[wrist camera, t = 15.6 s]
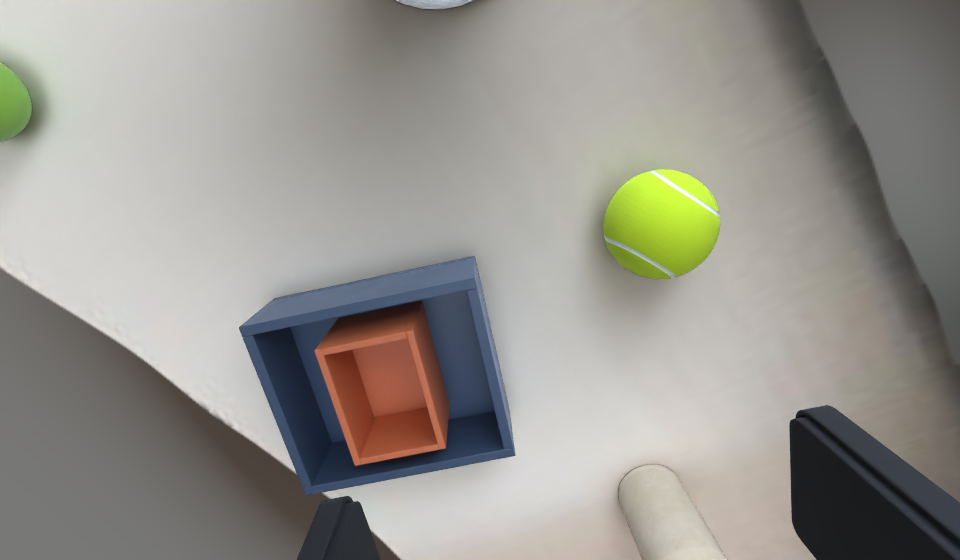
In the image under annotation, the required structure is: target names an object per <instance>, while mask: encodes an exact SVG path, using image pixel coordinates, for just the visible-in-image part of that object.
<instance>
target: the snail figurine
mask: <svg viewBox="0 0 960 560" xmlns="http://www.w3.org/2000/svg"><path fill="white" fill-rule="evenodd" d="M31 113H32V103H31V98H30V95H29V93H28V91H27V89H26V87H25V85H24V84H23V82H22V81H21V80H20V79H19V78H18V76H17V75H16V74H15V73H14V72H12V71H11V70H10V69H9V68H8V67H6V66H5V65H4V64H2V63H1V62H0V142H1V141H5V140H8V139H10V138H12V137H14V136H16V135H17V134H19V133H20V132H21V131H22V130H23V129H24V128H25V127H26V126H27V124H28V122H29V120H30V117H31Z"/></svg>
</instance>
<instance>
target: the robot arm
mask: <svg viewBox="0 0 960 560" xmlns="http://www.w3.org/2000/svg"><path fill="white" fill-rule="evenodd" d="M396 1H398V2H400V3H403V4H406V5H410V6H414V7H418V8H422V9H446V8H451V7H457V6H461V5H464V4H466V3H468V2H471V1H473V0H396ZM790 464H791V507H792V523H793V526H794V529H795V531H796V533H797V535H798V537H799V538H800V539H801V541H802V542H803V543H804V544H805V546H806V547H807V548H808V549H809V551H810V552H811V553H812V554H813V556H814V557H815V558H816V559H817V560H960V502H958V501H957V500H956V499H954V498H953V497H952V496H950V495H949V494H948V493H946V492H945V491H944V490H942V489H941V488H940V487H938V486H937V485H936V484H934V483H933V482H932V481H930V480H929V479H928V478H926V477H925V476H924V475H922V474H921V473H920V472H919V471H917V470H916V469H915V468H913V467H912V466H911V465H909V464H908V463H907V462H905V461H904V460H903V459H901V458H900V457H899V456H897V455H896V454H895V453H893V452H892V451H891V450H889V449H888V448H887V447H885V446H884V445H883V444H881V443H880V442H879V441H877V440H876V439H875V438H873V437H872V436H871V435H869V434H868V433H867V432H866V431H864V430H863V429H862V428H860V427H859V426H858V425H856V424H855V423H854V422H852V421H851V420H850V419H848V418H847V417H846V416H844V415H843V414H842V413H840V412H839V411H838V410H836V409H835V408H833V407H831V406H827V405H826V406H821V407H815V408H810V409H805V410H800V411H798V412H797V414H796V419H793V420H791V421H790ZM297 560H381V559H380V556H379V553H378V551H377V548H376V545H375V542H374V540H373V537H372V534H371V531H370V528H369V526H368V523H367V520H366V517H365V514H364V512H363V509H362V506H361V504H360V503H359V502H358V501H356V502H353V500H352V498H351V497H350V496H345V497H339V498H334V499H329V500H324V501H322V502H321V504H320V505H319V508H318V510H317V512H316V515H315V517H314V520H313V522H312V524H311V527H310V529H309V532H308V534H307V536H306V539H305V542H304V544H303V546H302V548H301V551H300V553H299V556H298V558H297Z"/></svg>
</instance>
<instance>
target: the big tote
mask: <svg viewBox="0 0 960 560" xmlns="http://www.w3.org/2000/svg"><path fill="white" fill-rule="evenodd" d="M420 301H422V302H423V306H424V310H425V314H426V317H427V321H428V325H429V329H430V332H431V336H432V340H433V344H434V347H435V351H436V355H437V358H438V362H439V366H440V370H441V373H442V377H443V381H444V385H445V388H446V392H447V396H448V400H449V403H450V408H449V420H448V431H447V442H446V448H445V449H439V450H435V451H430V452H425V453H419V454H414V455H409V456H404V457H399V458H393V459H388V460H383V461H378V462H373V463H367V464H361V465H357V466H355V465H354V462H353V459H352V456H351V453H350V451H349V448H348V445H347V442H346V439H345V436H344V433H343V431H342V428H341V425H340V422H339V419H338V416H337V414H336V411H335V408H334V405H333V402H332V399H331V397H330V394H329V391H328V388H327V385H326V382H325V379H324V377H323V374H322V371H321V368H320V365H319V362H318V360H317V357H316V354H315V349H316V348H317V346H318V345H319V344H320V342H321V341H322V340H323V338H324V337H325V336H326V334H327V333H328V332H329V330H330V329H331V327H332V326H333V325H334V323H335V322H336V321H337V319H338V318H343V317H348V316H353V315H358V314H362V313H367V312H372V311H377V310H382V309H386V308H391V307H396V306H401V305H405V304H410V303H415V302H420ZM239 329H240V332H241V334H242V337H243V339H244V342H245V344H246V347H247V349H248V352H249V354H250V357H251V359H252V362H253V364H254V367H255V370H256V372H257V375H258V377H259V380H260V382H261V385H262V387H263V390H264V392H265V395H266V397H267V400H268V402H269V405H270V407H271V410H272V412H273V415H274V417H275V420H276V422H277V425H278V427H279V430H280V432H281V435H282V437H283V440H284V442H285V445H286V448H287V450H288V453H289V455H290V458H291V460H292V463H293V465H294V468H295V470H296V473H297V475H298V478H299V480H300V483H301V485H302V487H303V490H304V493H305V495H311V494H316V493H322V492H327V491H332V490H338V489H343V488H348V487H353V486H359V485H364V484H369V483H374V482H380V481H385V480H390V479H395V478H401V477H406V476H411V475H417V474H422V473H427V472H432V471H438V470H443V469H448V468H453V467H459V466H464V465H469V464H474V463H480V462H485V461H490V460H495V459H501V458H506V457H511V456H515V449H514V441H513V433H512V426H511V418H510V411H509V406H508V402H507V397H506V393H505V388H504V384H503V380H502V375H501V371H500V366H499V362H498V357H497V353H496V349H495V344H494V340H493V335H492V331H491V326H490V322H489V318H488V313H487V309H486V304H485V300H484V295H483V291H482V287H481V282H480V278H479V273H478V269H477V264H476V260H475V257H474V256H472V257H467V258H463V259H458V260H453V261H449V262H444V263H439V264H435V265H430V266H425V267H420V268H416V269H411V270H406V271H402V272H397V273H392V274H388V275H383V276H378V277H373V278H369V279H364V280H359V281H355V282H350V283H345V284H340V285H336V286H331V287H326V288H322V289H317V290H312V291H308V292H303V293H298V294H293V295H289V296H284V297H279V298H275V299H273V300H272V301H271V302H270V303H268V304H267V305H266V306H265V307H263V308H262V309H261V310H260V311H259V312H257V313H256V314H255V315H254V316H252V317H251V318H250V319H249V320H248V321H246V322H245V323H244V324H243V325H241V326H240V327H239Z"/></svg>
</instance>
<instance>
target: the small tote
mask: <svg viewBox="0 0 960 560" xmlns="http://www.w3.org/2000/svg"><path fill="white" fill-rule="evenodd" d="M315 354H316V357H317V360H318V362H319V365H320V368H321V371H322V374H323V377H324V379H325V382H326V385H327V388H328V391H329V394H330V397H331V399H332V402H333V405H334V408H335V411H336V414H337V416H338V419H339V422H340V425H341V428H342V431H343V433H344V436H345V439H346V442H347V445H348V448H349V451H350V453H351V456H352V459H353V462H354V465H355V466H357V465H361V464H367V463H373V462H378V461H383V460H388V459H393V458H399V457H404V456H409V455H414V454H419V453H425V452H430V451H435V450H439V449H445V448H446V442H447V431H448V420H449V408H450V403H449V400H448V396H447V392H446V388H445V385H444V381H443V377H442V373H441V370H440V366H439V362H438V358H437V355H436V351H435V347H434V344H433V340H432V336H431V332H430V329H429V325H428V321H427V317H426V314H425V310H424V306H423V302H422V301H420V302H415V303H410V304H405V305H401V306H396V307H391V308H386V309H382V310H377V311H372V312H367V313H362V314H358V315H353V316H348V317H343V318H338V319H337V321H336V322H335V323H334V325H333V326H332V327H331V329H330V330H329V332H328V333H327V334H326V336H325V337H324V338H323V340H322V341H321V342H320V344H319V345H318V346H317V348H316V349H315Z"/></svg>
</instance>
